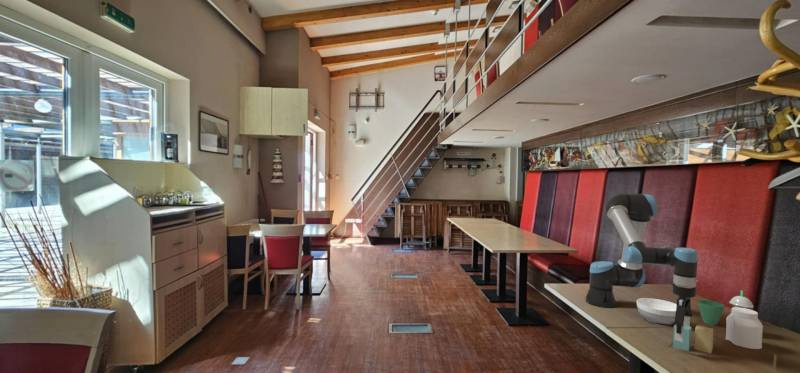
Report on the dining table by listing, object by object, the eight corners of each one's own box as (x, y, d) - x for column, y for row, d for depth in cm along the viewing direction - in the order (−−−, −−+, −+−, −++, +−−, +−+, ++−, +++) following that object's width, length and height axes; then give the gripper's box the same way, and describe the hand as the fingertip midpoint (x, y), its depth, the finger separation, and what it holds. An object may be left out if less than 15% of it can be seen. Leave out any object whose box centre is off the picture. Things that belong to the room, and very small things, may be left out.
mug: (726, 328, 174) (727, 308, 174) (700, 324, 178) (701, 304, 178) (716, 318, 187) (717, 299, 187) (692, 314, 191) (693, 295, 191)
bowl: (684, 321, 182) (685, 304, 182) (680, 332, 168) (680, 314, 168) (639, 311, 195) (640, 295, 194) (632, 321, 181) (633, 304, 181)
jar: (766, 352, 150) (767, 316, 149) (738, 349, 152) (739, 314, 152) (748, 340, 161) (749, 307, 161) (722, 337, 163) (723, 304, 163)
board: (668, 349, 151) (668, 346, 151) (674, 340, 160) (674, 338, 160) (708, 360, 142) (708, 358, 142) (713, 351, 150) (713, 348, 150)
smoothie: (747, 338, 163) (749, 294, 163) (724, 331, 171) (726, 289, 170) (755, 334, 167) (757, 291, 167) (732, 328, 175) (734, 286, 174)
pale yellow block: (694, 348, 150) (695, 328, 150) (696, 345, 153) (697, 324, 153) (710, 353, 146) (711, 332, 146) (712, 349, 150) (713, 328, 149)
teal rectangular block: (672, 346, 151) (673, 326, 151) (675, 343, 155) (676, 323, 155) (688, 351, 148) (689, 330, 147) (690, 347, 151) (691, 326, 151)
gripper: (690, 294, 139) (687, 348, 140) (700, 281, 156) (698, 330, 157) (666, 289, 145) (664, 341, 146) (679, 277, 162) (677, 324, 163)
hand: (682, 335), depth 151 cm, fingers open, 13 cm apart
